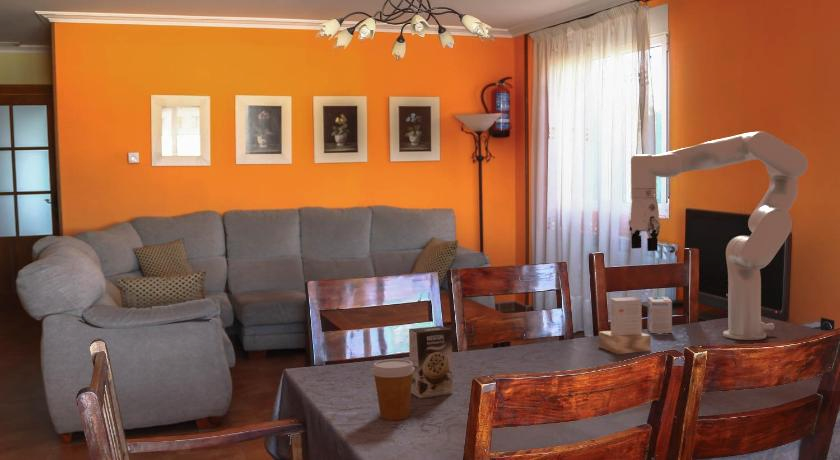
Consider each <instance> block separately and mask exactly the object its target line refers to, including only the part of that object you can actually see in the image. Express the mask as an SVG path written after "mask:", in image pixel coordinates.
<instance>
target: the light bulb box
mask: <svg viewBox="0 0 840 460" xmlns="http://www.w3.org/2000/svg"><path fill="white" fill-rule="evenodd" d="M647 330H648V331H649V332H651V333H672V334H673V301H672V299H670V298H669V296H647ZM651 333H650V334H651Z"/></svg>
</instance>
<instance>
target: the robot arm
mask: <svg viewBox="0 0 840 460" xmlns="http://www.w3.org/2000/svg"><path fill="white" fill-rule="evenodd" d="M753 160H758V161H759V162H761V163H763V164H764V165H765V169H766V172H767V174H768V178H769V185H768V188H767V190H766V192H765V194H764V195H763V198H762V199H761V200H760V201H759V203H758V204H757V206H756V207H755V209H754V211H753V212H752V213H751V215H750V216H749V218H748V220H747V221H748V222H747V225H748V228H749V231H750V232H751V234H750V235H738V236H735V237H733V238H732V239H731V240H729V242H728V243H727V246H726V248H725V258H726V266H727V276H728V277H727V282H728V284H727V288H728V289H727V291H728V293H727V295H728V296H727V301H728V302H727V303H728V305H727V306H728V307H727V310H728V312H727V315H728V316H727V317H728V318H727V320H728V322H727V323H728V325H727V327H728V329H727V330H724V331H723V332H722V335H723V337H724V338H727V339H731V340H737V341H738V340H739V341H740V340H741V341H756V340H757V341H758V340H763V339H766V338H767V333H766V332H765V331H766V330H774V329H775V324H774V323H773V322H770V323H769V322H767V323H765V322H763V321H762V305H761V304H762V296H761V295H762V279H761V278H762V276H761V269H763V268H765V267H766V266H768V265H770V263H771V261H772V260H773V259H774V258H775V256H776V255H777V253H778V252H779V251H780V249H781V247H782V246H783V245H784V243H785V242H786V240H787V239H788V237H789V235H790V233H791V231H792V226H793V220H792V217H791V215H790V213H789V211H790V210H791V209H792V206H793V205H794V203H795V201H796V199H797V197H798V195H799V183H798V178H800V177H802V176H803V175H804V174H805V173H806V172H807V170H808V167H809V161H808V159H807V156H806V155H805V154H804V153H803V152H802V151H800V150H799V149H798V148H796V147H794V146H792V145H789V144H788V143H787V142H785V141H783V140H781V139H780V138H778V137H776V136H775V135H772V134H771V133H768V132H766V131H761V130H760V131H751V132H745V133H742V134H736V135H732V136H729V137H728V136H727V137H723V138H720V139H719V138H718V139H714V140H711V141H706V142H703V143H700V144H696V145H693V146H689V147H685V148H684V147H683V148H680V149H676V150H671V151H667V152H663V153H658V154H649V153H648V154H634V155H632V156H631V159H630V191H631V193H630V195H631V196H630V197H631V198H630V199H631V207H630V219H629V221H628V225H629V232H630V236H631V237H630V238H631V242H630V243H631V249H632V250H633V249H642V235H641V233H642V232H646V234H647V236H648V237H647V239H646V241H647V242H646V243H647V244H646V245H647V246H646V249H647V252H656V251H658V248H659V247H658V245H659V244H658V243H659V242H658V240H659V239H658V238H659V235H660V232H661V231H660V229H661V223H660V211H659V203H658V199H657V177H658V178H668V179H669V178H675V177H677V176H679V175H680V174H682V173H683V174H684V173H687V172H694V171H699V170H700V171H701V170H703V171H704V170H714V169H718V168H722V167H727V166H732V165H735V164H736V165H737V164H740V163H744V162H749V161H753Z"/></svg>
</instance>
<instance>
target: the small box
mask: <svg viewBox="0 0 840 460" xmlns="http://www.w3.org/2000/svg"><path fill="white" fill-rule="evenodd" d="M609 300H610V331H611V333H613V334H614V335H616V336H622V335H642V333H643V319H642V318H643V317H642V314H643V312H642V311H643V310H642V309H643V308H642V307H643V305H642V303H643V301H642V299H640V298H638V297H635V296H634V297H633V296H631V297H630V296H629V297H612V298H611V297H610V299H609Z"/></svg>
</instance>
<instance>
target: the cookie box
mask: <svg viewBox="0 0 840 460" xmlns="http://www.w3.org/2000/svg"><path fill="white" fill-rule="evenodd" d="M452 332H453V331H452V329H451V328H449V327H446V326H442V325H437V326H436V325H435V326H427V327H417V328H416V327H415V328H409V329H408V337H409V338H408V339H409V340H408V342H409V343H408V344H409V346H408V347H409V349H408V350H409V356H408V357H409V361H411V362H412V364H413V367H414V368H415V369H414V372H413V375H412V386H411V394H412V395H414V396H416V397H417V398H419V399H422V398H429V397H430V398H431V397H437V396H445V395H452V394H454V393H453V392H454V390H453V389H454V387H453V385H454V383H453V345H452V344H453V343H452V340H453V339H452Z"/></svg>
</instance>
